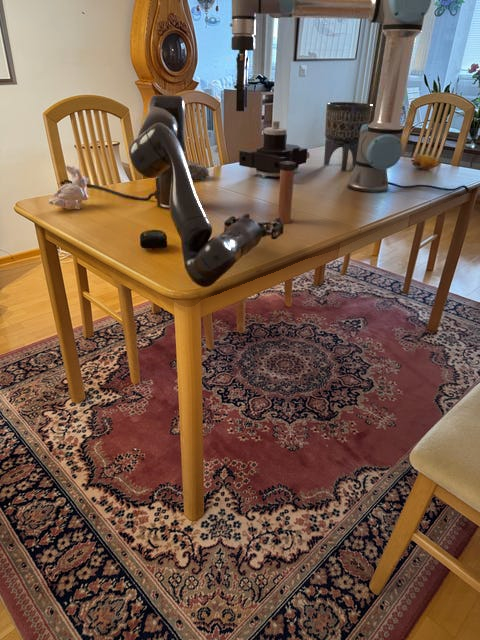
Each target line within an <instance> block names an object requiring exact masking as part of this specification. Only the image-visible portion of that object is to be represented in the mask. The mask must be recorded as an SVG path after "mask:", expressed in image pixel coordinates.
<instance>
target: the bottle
mask: <svg viewBox="0 0 480 640" xmlns="http://www.w3.org/2000/svg"><path fill="white" fill-rule="evenodd" d="M294 179H295V172H294V170H282V169H281V171H280V176H279V189H278V202H277V203H278V205H277V218H280V220H281V223H284V224H288V223H291V220H292V219H291V218H292V205H293V194H294V193H293V192H294V182H295V181H294Z"/></svg>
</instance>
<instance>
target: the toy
mask: <svg viewBox="0 0 480 640" xmlns="http://www.w3.org/2000/svg"><path fill="white" fill-rule="evenodd" d="M410 161H411V163H412V166H414V167H418V168H421V169H424V170H431V169H435V168H437V167H439V166H440V161H438V160H435V158H434V156H432V155H429V154H424V155H419V156H416V157H414V159H411V160H410Z"/></svg>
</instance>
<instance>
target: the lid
mask: <svg viewBox="0 0 480 640" xmlns="http://www.w3.org/2000/svg"><path fill="white" fill-rule="evenodd" d="M280 169H282V170H295V169H296V163H295V162H292V161H282V162H280Z"/></svg>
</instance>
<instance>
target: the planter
mask: <svg viewBox="0 0 480 640" xmlns="http://www.w3.org/2000/svg"><path fill="white" fill-rule="evenodd" d="M373 107H374V106H373V104H372V103H367V102H353V101H333V102H327V103H326V109H325V124H324V125H325V126H324V139H325V144H324V156H323V157H324V158H323V165H325V166H328V165H330V163H331V158H332V156H333V154H334V153H335V151H336V150H337V149H340V148H341V150H342V153H341V166H340V170H341V172H345V171H347V167H348V166H347V165H348V159H349V152H350V154H351V157H352V158H351V159H352V160H351V161H352V166H353V167H355V165H356V158H357V151H358V144H359V137H360V134H359V133H360V130H361V127H362V125H364V124H370V123H371V122H370V121H371V116H372V112H373Z"/></svg>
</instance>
